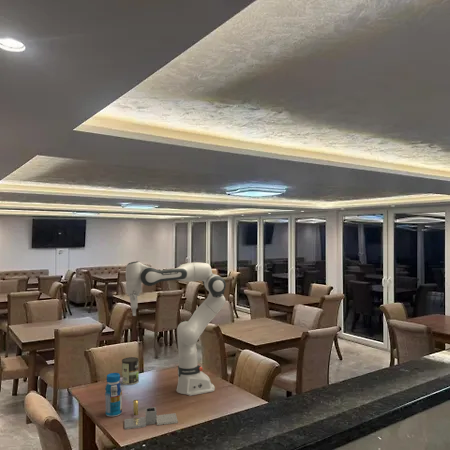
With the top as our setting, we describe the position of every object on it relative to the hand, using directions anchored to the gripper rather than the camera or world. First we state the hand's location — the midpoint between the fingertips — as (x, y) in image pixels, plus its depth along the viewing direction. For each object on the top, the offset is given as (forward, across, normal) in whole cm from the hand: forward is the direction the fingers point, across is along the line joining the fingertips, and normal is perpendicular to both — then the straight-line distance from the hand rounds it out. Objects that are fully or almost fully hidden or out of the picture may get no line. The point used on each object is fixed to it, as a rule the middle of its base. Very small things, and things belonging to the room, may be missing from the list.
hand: (134, 314), depth 240 cm
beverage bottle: (+47, -21, +11) cm, 53 cm away
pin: (+47, -25, 0) cm, 53 cm away
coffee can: (+47, +25, +2) cm, 53 cm away
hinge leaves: (+47, -36, -7) cm, 59 cm away
